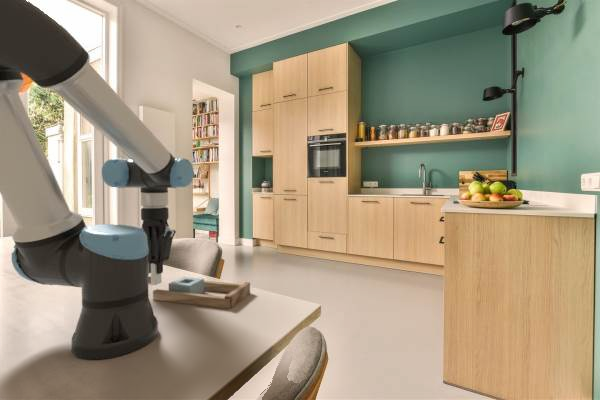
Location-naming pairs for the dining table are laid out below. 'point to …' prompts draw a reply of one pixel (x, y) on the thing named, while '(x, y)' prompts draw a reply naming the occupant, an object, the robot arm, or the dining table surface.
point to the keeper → (188, 285)
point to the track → (228, 301)
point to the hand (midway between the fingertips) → (156, 283)
